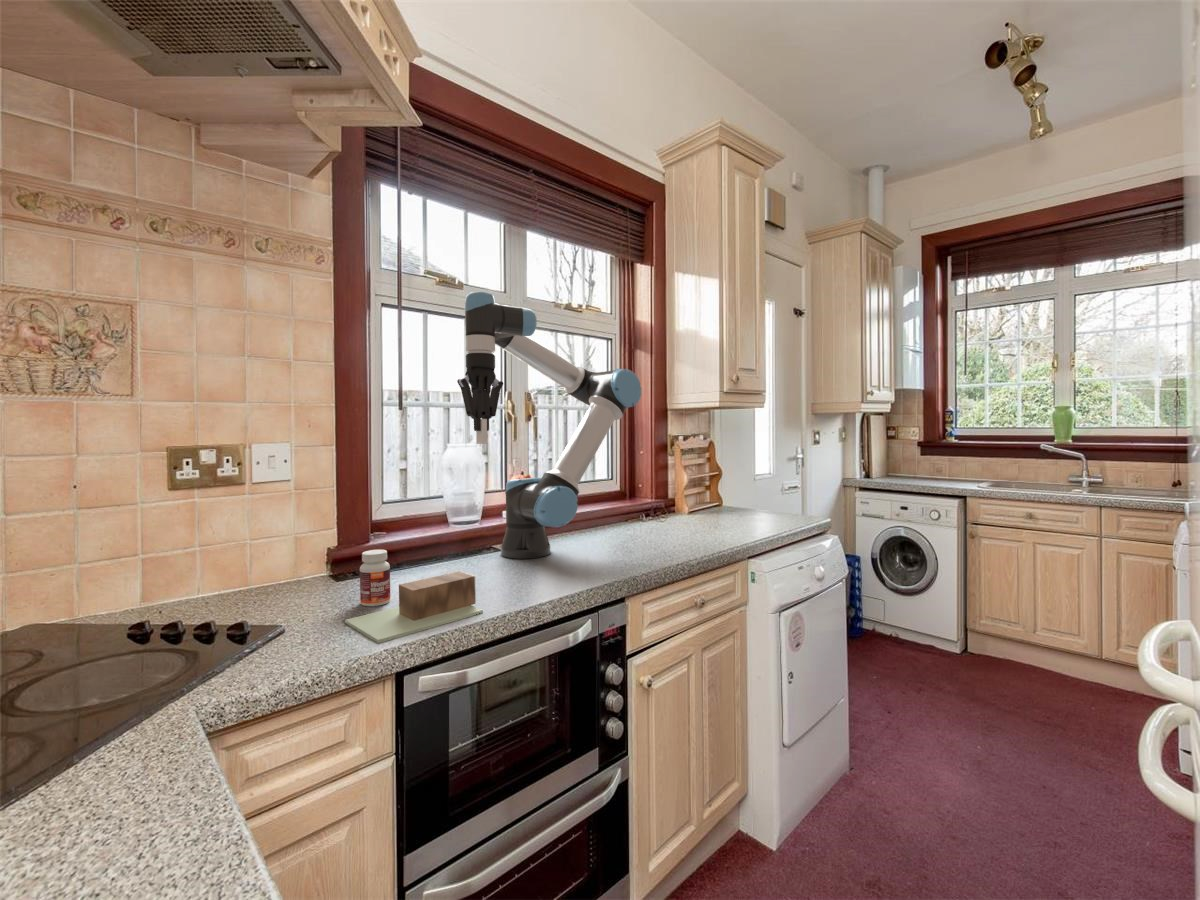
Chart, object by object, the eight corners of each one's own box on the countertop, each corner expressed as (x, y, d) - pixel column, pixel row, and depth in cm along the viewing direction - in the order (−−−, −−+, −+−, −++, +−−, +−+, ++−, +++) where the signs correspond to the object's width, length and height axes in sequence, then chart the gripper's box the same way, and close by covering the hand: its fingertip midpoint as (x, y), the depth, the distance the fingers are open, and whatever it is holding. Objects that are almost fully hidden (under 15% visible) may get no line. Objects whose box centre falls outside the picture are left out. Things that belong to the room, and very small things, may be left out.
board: (445, 597, 123) (445, 594, 123) (482, 612, 112) (482, 609, 112) (345, 622, 107) (345, 619, 107) (378, 643, 97) (378, 639, 97)
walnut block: (460, 571, 120) (398, 584, 110) (475, 576, 116) (412, 590, 106) (460, 597, 121) (399, 613, 110) (475, 603, 116) (413, 620, 106)
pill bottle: (372, 609, 115) (371, 556, 115) (354, 604, 118) (353, 553, 118) (396, 601, 121) (395, 550, 120) (378, 597, 124) (377, 547, 123)
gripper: (492, 357, 149) (494, 443, 150) (450, 352, 140) (452, 444, 140) (509, 354, 144) (510, 443, 145) (466, 349, 134) (468, 444, 135)
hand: (481, 443), depth 142 cm, fingers closed
